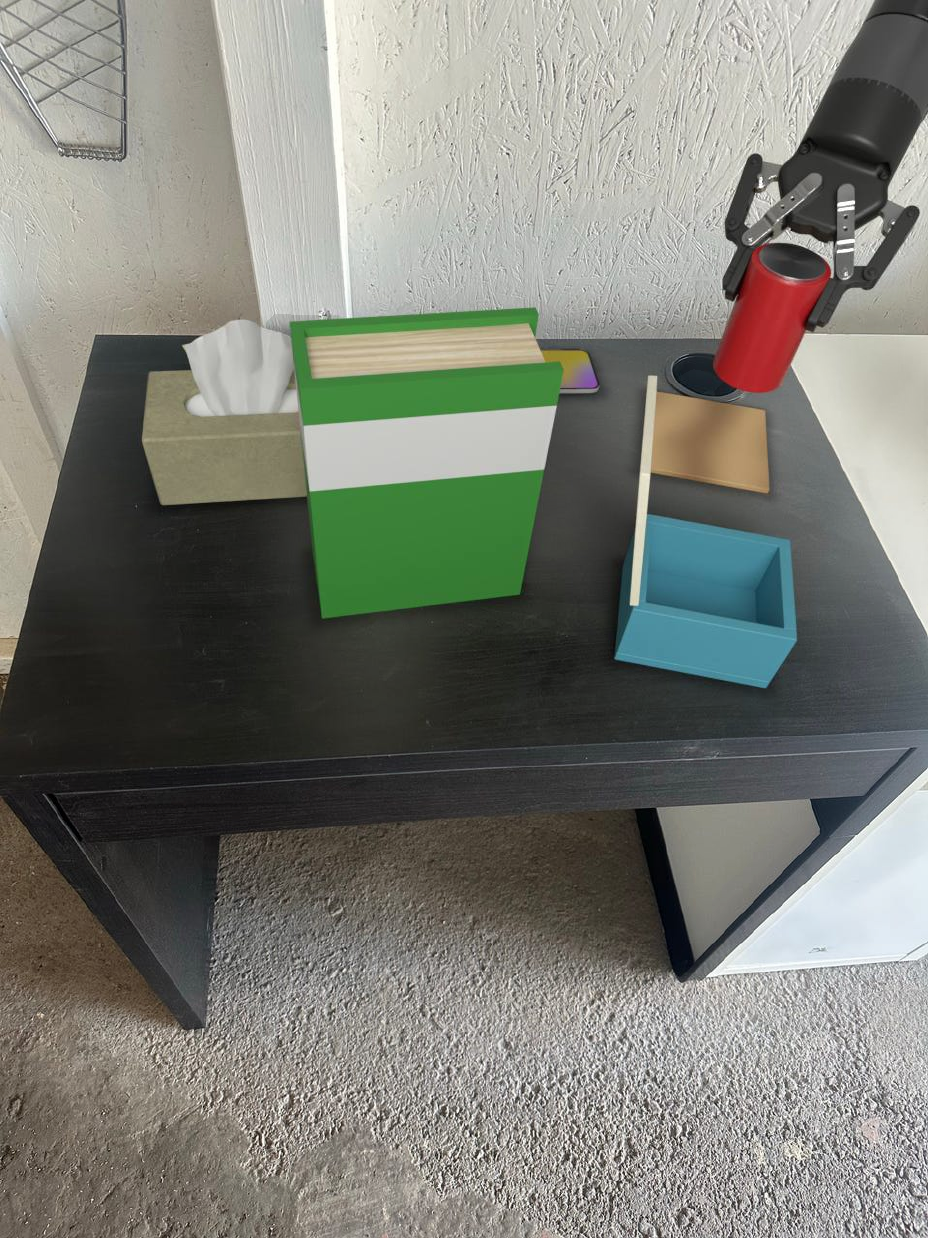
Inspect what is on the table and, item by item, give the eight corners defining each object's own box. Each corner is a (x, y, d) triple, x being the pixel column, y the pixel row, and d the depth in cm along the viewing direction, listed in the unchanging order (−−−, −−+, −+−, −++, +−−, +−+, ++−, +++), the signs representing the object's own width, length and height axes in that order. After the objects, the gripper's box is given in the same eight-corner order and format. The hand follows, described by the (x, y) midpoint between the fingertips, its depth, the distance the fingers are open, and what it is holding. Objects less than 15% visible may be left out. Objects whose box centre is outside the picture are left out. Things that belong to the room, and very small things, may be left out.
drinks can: (782, 355, 76) (829, 246, 68) (785, 398, 72) (836, 288, 64) (712, 343, 76) (752, 233, 68) (712, 386, 73) (754, 275, 65)
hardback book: (500, 534, 81) (535, 307, 62) (519, 594, 77) (563, 369, 58) (312, 554, 78) (289, 321, 59) (322, 618, 73) (299, 388, 54)
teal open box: (762, 591, 79) (790, 539, 74) (766, 688, 72) (797, 640, 67) (622, 565, 80) (640, 512, 74) (614, 659, 73) (632, 609, 67)
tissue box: (350, 428, 89) (345, 289, 76) (359, 494, 83) (354, 355, 70) (162, 437, 86) (124, 294, 73) (157, 507, 80) (115, 364, 67)
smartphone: (601, 389, 95) (467, 389, 93) (600, 394, 95) (466, 395, 93) (588, 349, 99) (459, 349, 97) (587, 354, 100) (459, 354, 98)
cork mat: (763, 414, 95) (765, 409, 95) (767, 493, 87) (769, 489, 87) (647, 393, 96) (649, 389, 95) (641, 471, 88) (642, 466, 87)
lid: (657, 375, 63) (648, 374, 64) (650, 474, 57) (639, 473, 57) (645, 509, 74) (637, 508, 74) (638, 606, 67) (629, 605, 67)
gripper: (787, 49, 64) (682, 265, 67) (982, 106, 60) (862, 333, 63) (782, 102, 71) (689, 296, 74) (957, 156, 67) (850, 358, 70)
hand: (769, 312), depth 68 cm, fingers closed on drinks can, 6 cm apart
